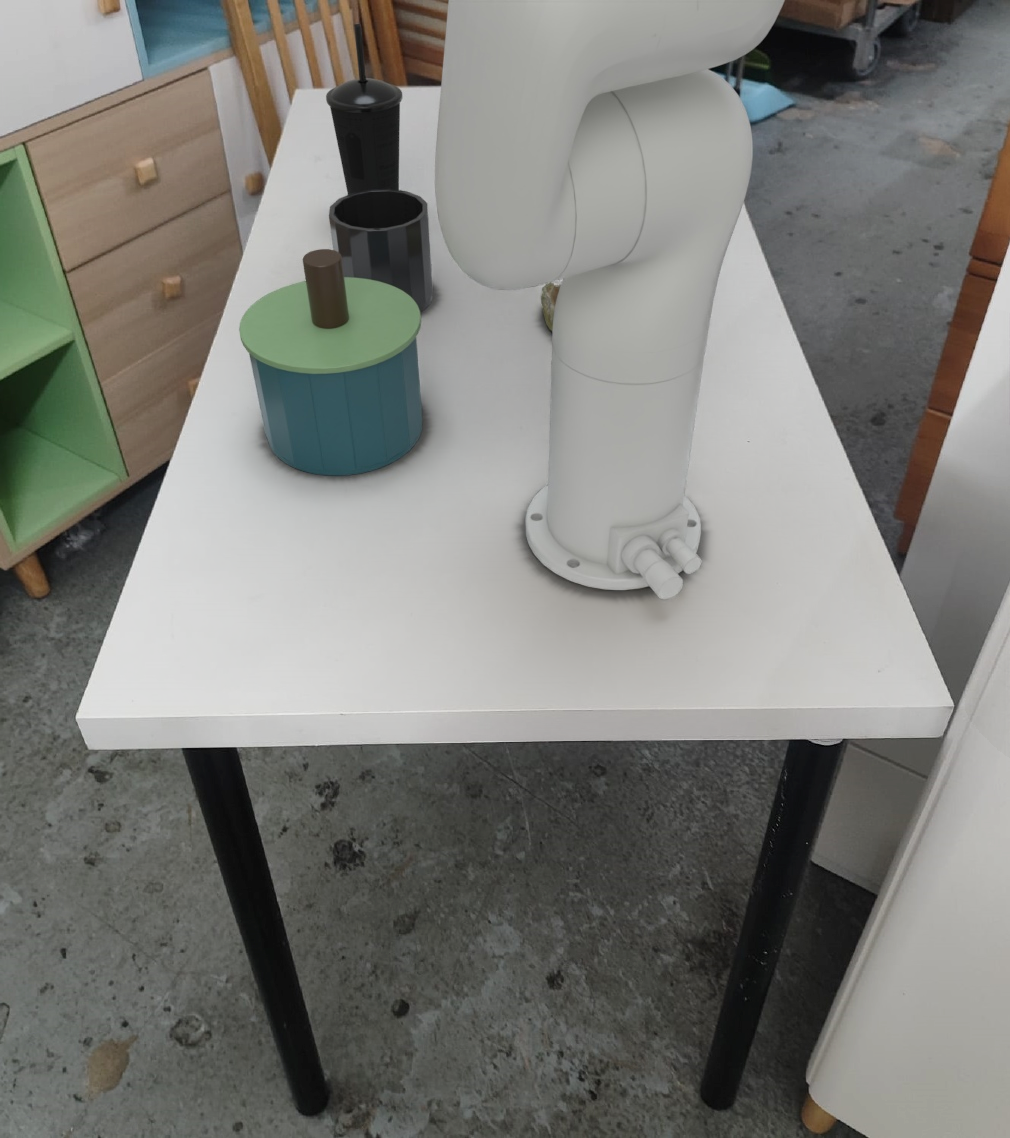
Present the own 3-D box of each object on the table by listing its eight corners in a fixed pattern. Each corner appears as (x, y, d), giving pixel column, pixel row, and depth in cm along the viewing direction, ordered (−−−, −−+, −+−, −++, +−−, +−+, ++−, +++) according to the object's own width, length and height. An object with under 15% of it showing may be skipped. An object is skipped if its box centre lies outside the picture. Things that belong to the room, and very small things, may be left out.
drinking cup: (420, 232, 111) (407, 30, 97) (352, 244, 109) (328, 40, 95) (399, 204, 116) (384, 9, 102) (333, 215, 114) (309, 18, 100)
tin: (446, 449, 82) (440, 344, 76) (294, 493, 78) (275, 387, 72) (389, 372, 90) (379, 272, 84) (249, 409, 86) (227, 307, 80)
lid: (449, 353, 76) (446, 277, 72) (271, 399, 72) (256, 321, 67) (383, 275, 85) (376, 203, 81) (221, 312, 80) (205, 238, 76)
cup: (447, 308, 99) (443, 218, 93) (359, 329, 96) (348, 238, 90) (412, 269, 105) (405, 181, 98) (328, 288, 102) (316, 199, 96)
